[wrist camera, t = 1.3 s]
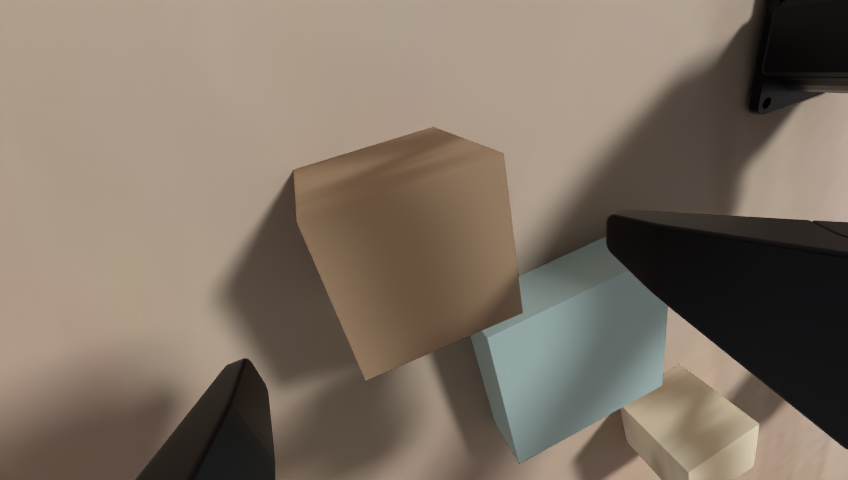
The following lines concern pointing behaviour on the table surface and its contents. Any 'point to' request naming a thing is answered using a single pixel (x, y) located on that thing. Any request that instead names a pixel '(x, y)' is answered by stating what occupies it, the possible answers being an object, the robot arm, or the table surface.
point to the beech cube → (690, 430)
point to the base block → (571, 349)
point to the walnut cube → (411, 244)
